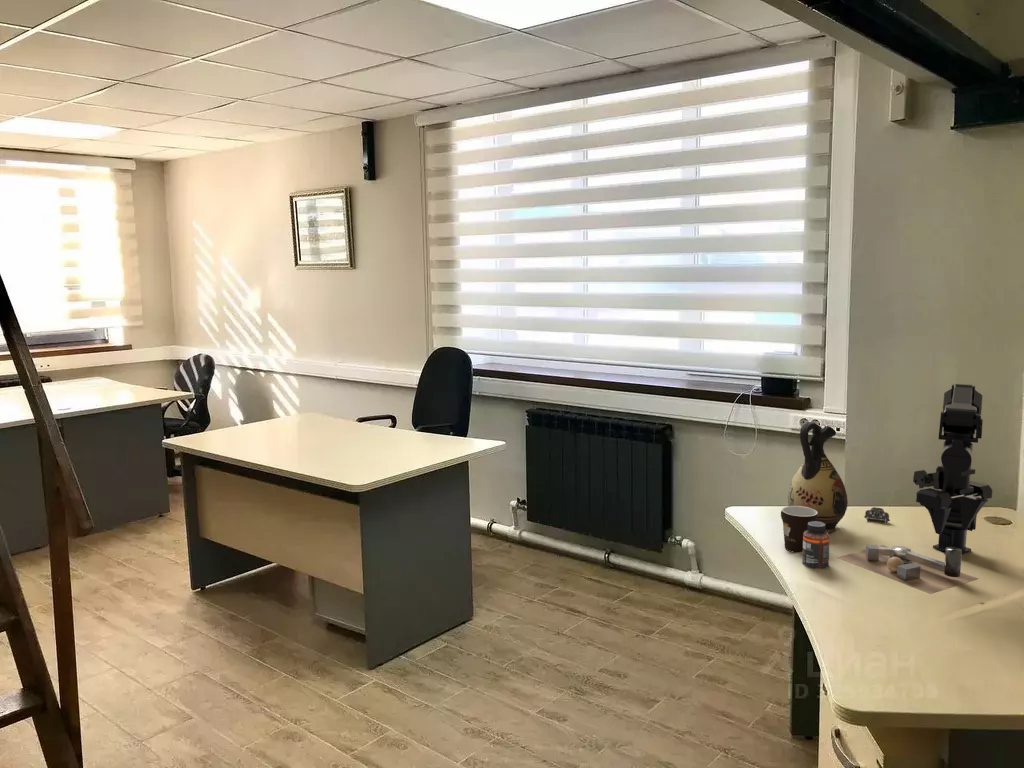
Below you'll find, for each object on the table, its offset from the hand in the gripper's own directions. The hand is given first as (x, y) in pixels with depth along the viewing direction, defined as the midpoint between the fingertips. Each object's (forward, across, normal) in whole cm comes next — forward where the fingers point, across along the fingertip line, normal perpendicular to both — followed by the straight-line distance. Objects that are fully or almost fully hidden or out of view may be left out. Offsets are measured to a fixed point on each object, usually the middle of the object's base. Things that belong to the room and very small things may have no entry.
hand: (951, 530), depth 182 cm
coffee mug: (+13, +11, -34) cm, 38 cm away
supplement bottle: (+13, +19, -21) cm, 31 cm away
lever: (+11, +2, -8) cm, 14 cm away
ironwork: (+11, +4, -9) cm, 15 cm away
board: (+12, +2, -9) cm, 16 cm away
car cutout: (+12, -26, -35) cm, 45 cm away
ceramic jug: (+12, -4, -42) cm, 44 cm away
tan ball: (+11, +7, -8) cm, 16 cm away
